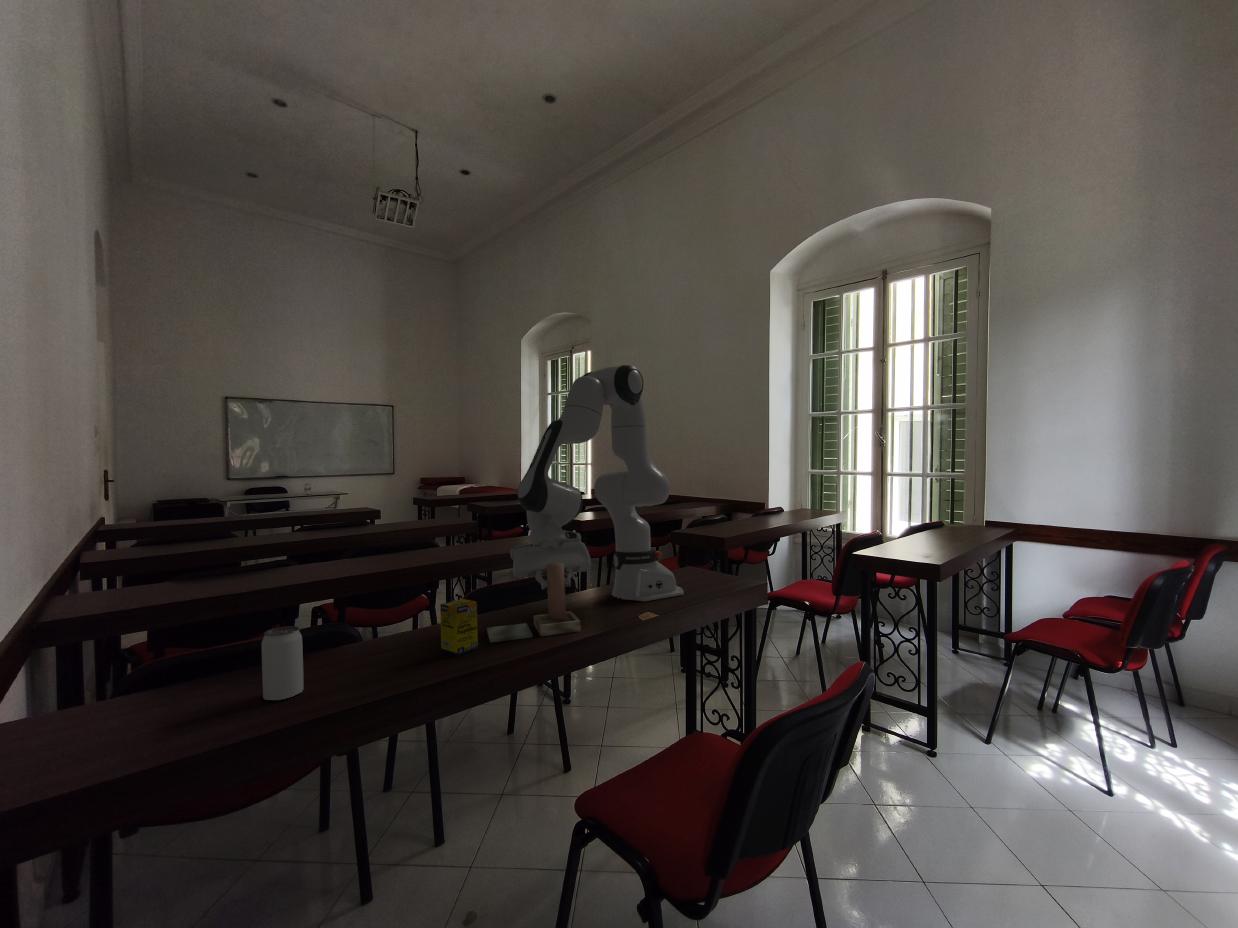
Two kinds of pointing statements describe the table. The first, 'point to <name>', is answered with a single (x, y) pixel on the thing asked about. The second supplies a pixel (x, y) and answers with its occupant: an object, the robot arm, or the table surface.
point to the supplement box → (459, 627)
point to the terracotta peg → (556, 590)
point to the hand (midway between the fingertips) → (556, 586)
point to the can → (282, 663)
